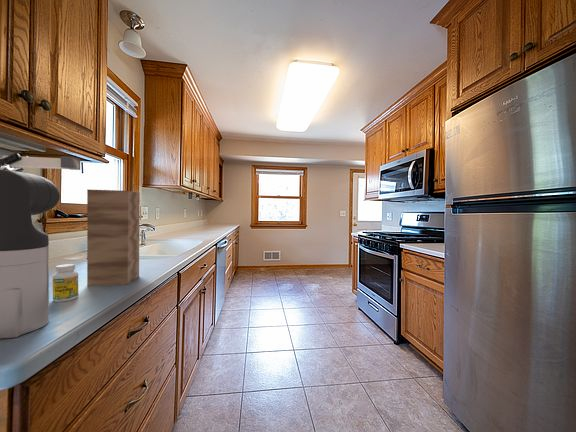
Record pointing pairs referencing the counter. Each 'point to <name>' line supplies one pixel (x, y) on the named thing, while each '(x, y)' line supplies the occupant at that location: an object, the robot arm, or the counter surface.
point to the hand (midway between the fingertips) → (24, 157)
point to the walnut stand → (112, 237)
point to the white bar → (48, 162)
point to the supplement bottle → (65, 283)
